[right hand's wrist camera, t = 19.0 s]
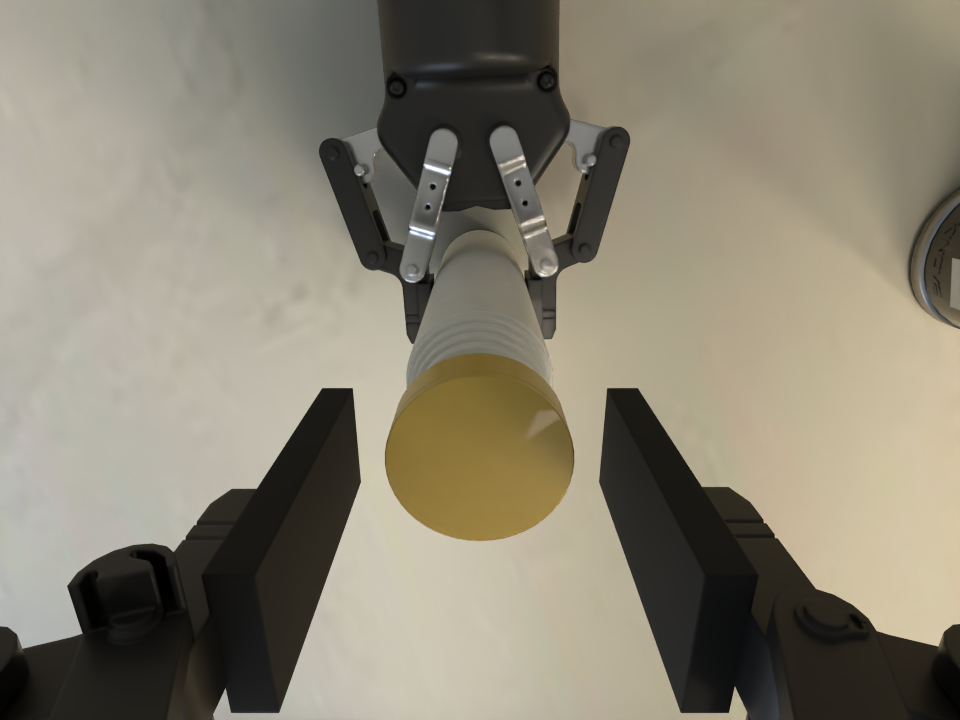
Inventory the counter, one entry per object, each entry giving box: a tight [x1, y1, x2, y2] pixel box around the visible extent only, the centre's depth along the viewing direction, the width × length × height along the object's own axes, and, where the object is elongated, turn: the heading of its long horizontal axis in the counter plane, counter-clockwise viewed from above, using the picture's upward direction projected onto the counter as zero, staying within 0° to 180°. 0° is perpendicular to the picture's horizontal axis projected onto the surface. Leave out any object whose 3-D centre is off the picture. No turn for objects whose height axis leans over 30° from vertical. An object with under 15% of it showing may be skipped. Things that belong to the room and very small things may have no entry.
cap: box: [385, 353, 574, 541], centre depth 14 cm, size 4×4×2 cm
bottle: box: [406, 230, 553, 388], centre depth 24 cm, size 5×5×22 cm
